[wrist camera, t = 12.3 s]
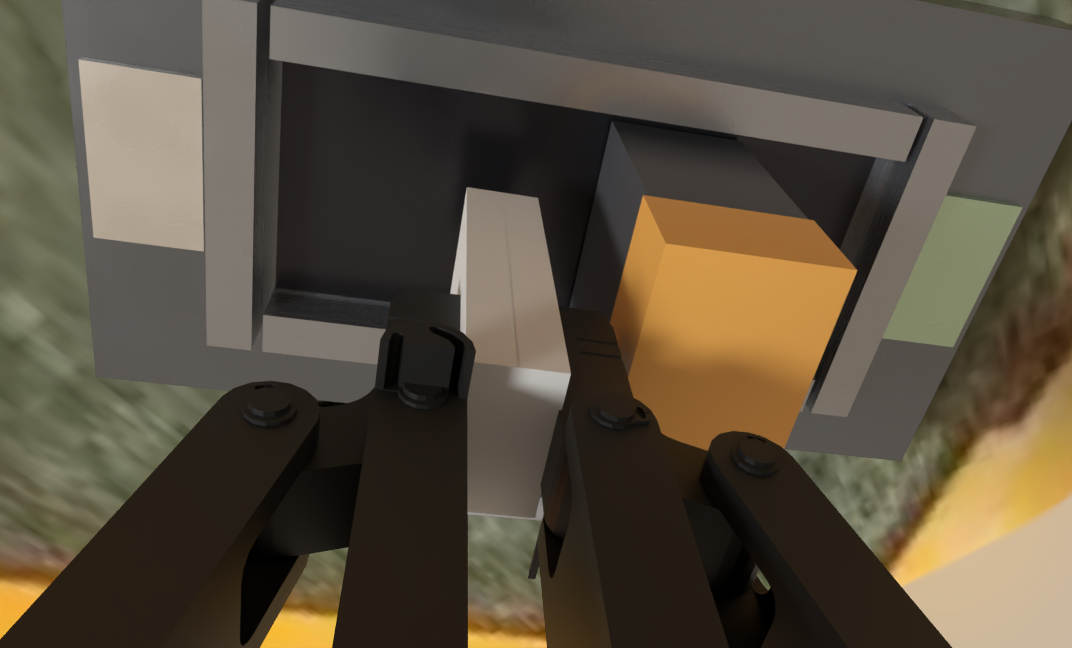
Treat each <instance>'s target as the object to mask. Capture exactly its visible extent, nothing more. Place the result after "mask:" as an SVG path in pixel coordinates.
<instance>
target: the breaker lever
mask: <svg viewBox="0 0 1072 648" xmlns="http://www.w3.org/2000/svg"><path fill="white" fill-rule="evenodd" d="M856 273H857V269H856V268H855V267H854V266H853V265H852V263H851V262H850V261H849V260H848V259H847V258H846V257H845V255H844V254H843V253H842V252H841V251H840V250H839V249H838V247H837V246H836V245H835V244H834V243H833V242H832V241H831V239H830V238H829V237H828V236H827V235H826V234H825V233H824V231H823V230H822V229H821V228H820V227H819V226H818V225H817V223H816V222H815V221H814V220H809V219H808V218H807V217H806V216H805V215H804V214H803V212H802V211H801V210H800V209H799V208H798V207H797V206H796V204H795V203H794V202H793V201H792V200H791V199H790V197H789V196H788V195H787V194H786V193H785V192H784V190H783V189H782V188H781V187H780V186H779V185H778V183H777V182H776V181H775V180H774V179H773V178H772V177H771V175H770V174H769V173H768V172H767V171H766V170H765V168H764V167H763V166H762V165H761V164H760V163H759V161H758V160H757V159H756V158H755V157H754V156H753V154H752V153H751V152H750V151H749V150H748V149H747V148H746V146H745V145H744V144H743V143H742V142H741V141H736V140H730V139H724V138H717V137H711V136H705V135H699V134H693V133H686V132H680V131H674V130H668V129H661V128H655V127H649V126H643V125H637V124H630V123H624V122H618V121H612V123H611V127H610V131H609V136H608V140H607V144H606V149H605V153H604V158H603V162H602V166H601V171H600V175H599V179H598V184H597V188H596V193H595V197H594V201H593V206H592V210H591V214H590V219H589V223H588V228H587V232H586V236H585V241H584V245H583V249H582V254H581V258H580V263H579V267H578V271H577V276H576V280H575V284H574V289H573V293H572V298H571V302H570V306H569V307H570V308H577V309H585V310H592V311H598V312H599V313H600V314H601V315H602V316H603V317H604V318H605V319H606V320H607V321H608V322H609V323H610V324H611V325H612V326H613V328H614V332H615V335H616V338H617V342H618V346H619V349H620V352H621V356H622V358H621V360H623V363H624V366H625V369H626V373H627V376H628V380H629V383H630V387H631V390H632V394H633V397H634V398H635V399H637V400H639V401H641V402H642V403H643V404H644V405H645V406H647V407H648V408H649V409H650V410H651V411H652V412H653V414H654V416H655V417H656V419H657V421H658V424H659V427H660V430H661V433H662V434H664V435H666V436H667V437H669V438H672V439H674V440H677V441H679V442H682V443H685V444H688V445H692V446H695V447H698V448H701V449H704V450H707V451H708V449H709V446H710V443H711V440H713V439H714V438H715V437H716V436H717V435H719V434H721V433H725V432H730V431H738V432H749V433H753V434H756V435H760V436H762V437H765V438H767V439H768V440H770V441H772V442H774V443H776V444H777V445H779V446H781V447H782V448H783V449H784V448H785V446H786V443H787V441H788V438H789V436H790V433H791V431H792V428H793V426H794V424H795V421H796V419H797V416H798V414H799V411H800V409H801V407H802V404H803V402H804V399H805V397H806V394H807V392H808V390H809V387H810V385H811V382H812V380H813V377H814V375H815V373H816V370H817V368H818V365H819V363H820V360H821V358H822V355H823V353H824V351H825V348H826V346H827V343H828V341H829V338H830V336H831V334H832V331H833V329H834V326H835V324H836V321H837V319H838V317H839V314H840V312H841V309H842V307H843V304H844V302H845V299H846V297H847V295H848V292H849V290H850V287H851V285H852V282H853V280H854V278H855V275H856Z"/></svg>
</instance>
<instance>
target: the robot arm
mask: <svg viewBox="0 0 1072 648" xmlns="http://www.w3.org/2000/svg"><path fill="white" fill-rule="evenodd" d="M621 358H622V356H621V352H620V349H619V346H618V342H617V338H616V335H615V332H614V328H613V326H612V325H611V324H610V323H609V322H608V321H607V320H606V319H605V318H604V317H603V316H602V315H601V314H600V313H599V312H598V311H592V310H585V309H577V308H570V307H562V306H558V302H557V297H556V291H555V286H554V281H553V275H552V270H551V265H550V259H549V254H548V249H547V243H546V238H545V233H544V227H543V222H542V217H541V211H540V206H539V201H538V198H535V197H528V196H522V195H515V194H509V193H502V192H496V191H489V190H483V189H476V188H469V187H467V189H466V196H465V202H464V209H463V215H462V221H461V228H460V234H459V240H458V247H457V253H456V260H455V266H454V272H453V279H452V285H451V292H450V294H449V293H441V292H434V291H426V290H419V289H411V288H404V289H403V290H402V291H401V292H400V293H398V294H397V295H396V296H395V297H394V298H393V299H392V300H391V302H390V308H389V314H388V320H387V326H386V330H385V332H384V334H383V335H382V337H381V339H380V346H379V354H378V363H377V372H376V381H375V387H374V388H373V389H372V390H371V391H370V392H369V393H368V394H367V395H365V396H364V397H362V398H360V399H359V400H356V401H353V402H350V403H347V404H342V405H336V406H329V407H319V405H318V402H317V399H316V398H315V397H314V396H312V395H311V394H310V393H309V392H308V391H307V390H305V389H303V388H300V387H298V386H295V385H293V384H290V383H284V382H277V381H261V382H251V383H248V384H245V385H242V386H239V387H235V388H233V389H232V390H231V391H229V392H228V393H226V394H225V395H224V396H222V397H221V398H220V399H219V400H218V401H217V402H216V404H215V405H214V406H213V407H212V408H211V409H210V410H209V411H208V412H207V413H206V414H205V416H204V417H203V418H202V419H201V420H200V421H199V422H198V423H197V424H196V425H195V427H194V428H193V429H192V430H191V431H190V432H189V433H188V434H187V435H186V436H185V437H184V439H183V440H182V441H181V442H180V443H179V444H178V445H177V446H176V447H175V448H174V450H173V451H172V452H171V453H170V454H169V455H168V456H167V457H166V458H165V459H164V461H163V462H162V463H161V464H160V465H159V466H158V467H157V468H156V469H155V470H154V471H153V473H152V474H151V475H150V476H149V477H148V478H147V479H146V480H145V481H144V482H143V484H142V485H141V486H140V487H139V488H138V489H137V490H136V491H135V492H134V493H133V495H132V496H131V497H130V498H129V499H128V500H127V501H126V502H125V503H124V504H123V505H122V507H121V508H120V509H119V510H118V511H117V512H116V513H115V514H114V515H113V516H112V518H111V519H110V520H109V521H108V522H107V523H106V524H105V525H104V526H103V527H102V529H101V530H100V531H99V532H98V533H97V534H96V535H95V536H94V537H93V538H92V539H91V541H90V542H89V543H88V544H87V545H86V546H85V547H84V548H83V549H82V550H81V552H80V553H79V554H78V555H77V556H76V557H75V558H74V559H73V560H72V561H71V562H70V564H69V565H68V566H67V567H66V568H65V569H64V570H63V571H62V572H61V573H60V575H59V576H58V577H57V578H56V579H55V580H54V581H53V582H52V583H51V584H50V586H49V587H48V588H47V589H46V590H45V591H44V592H43V593H42V594H41V595H40V596H39V598H38V599H37V600H36V601H35V602H34V603H33V604H32V605H31V606H30V607H29V609H28V610H27V611H26V612H25V613H24V614H23V615H22V616H21V617H20V618H19V620H18V621H17V622H16V623H15V624H14V625H13V626H12V627H11V628H10V629H9V630H8V632H7V633H6V634H5V635H4V636H3V637H2V638H1V639H0V648H260V646H261V644H262V643H263V641H264V639H265V637H266V636H267V634H268V632H269V630H270V628H271V627H272V625H273V623H274V621H275V620H276V618H277V616H278V614H279V613H280V611H281V609H282V607H283V606H284V604H285V602H286V600H287V598H288V597H289V595H290V593H291V591H292V590H293V588H294V586H295V584H296V583H297V581H298V579H299V577H300V575H301V574H302V572H303V570H304V568H305V567H306V564H307V560H308V557H309V554H310V553H316V552H322V551H328V550H334V549H340V548H346V547H349V548H348V554H347V560H346V566H345V573H344V579H343V585H342V591H341V597H340V603H339V609H338V615H337V621H336V628H335V634H334V640H333V646H332V648H468V512H475V513H486V514H497V515H507V516H518V517H529V518H535V516H536V512H537V508H538V504H539V500H540V496H541V494H542V503H543V512H544V515H543V518H542V522H541V526H540V530H539V534H538V538H537V542H536V546H535V550H534V554H533V558H532V562H531V566H530V570H529V576H528V578H530V579H535V578H536V574H537V570H538V567H540V577H541V588H542V598H543V609H544V620H545V631H546V641H547V648H952V647H951V646H950V645H949V643H948V642H947V641H946V640H945V639H944V637H943V636H942V635H941V634H940V633H939V631H938V630H937V629H936V628H935V627H934V625H933V624H932V623H931V622H930V621H929V620H928V618H927V617H926V616H925V615H924V613H923V612H922V611H921V610H920V609H919V607H918V606H917V605H916V604H915V603H914V602H913V600H912V599H911V598H910V597H909V596H908V594H907V593H906V592H905V591H904V590H903V588H902V587H901V586H900V585H899V584H898V582H897V581H896V580H895V579H894V578H893V576H892V575H891V574H890V573H889V572H888V570H887V569H886V568H885V567H884V566H883V564H882V563H881V562H880V561H879V560H878V558H877V557H876V556H875V555H874V554H873V552H872V551H871V550H870V549H869V548H868V546H867V545H866V544H865V543H864V542H863V541H862V539H861V538H860V537H859V536H858V535H857V533H856V532H855V531H854V530H853V529H852V527H851V526H850V525H849V524H848V523H847V521H846V520H845V519H844V518H843V517H842V515H841V514H840V513H839V512H838V511H837V509H836V508H835V507H834V506H833V505H832V503H831V502H830V501H829V500H828V499H827V497H826V496H825V495H824V494H823V493H822V491H821V490H820V489H819V488H818V487H817V486H816V484H815V483H814V482H813V481H812V480H811V478H810V477H809V476H808V475H807V474H806V472H805V471H804V470H803V469H802V468H801V466H800V465H799V464H798V463H797V462H796V460H795V459H794V458H793V457H792V456H791V455H790V454H789V453H788V452H786V451H785V450H784V449H783V448H782V447H781V446H779V445H777V444H776V443H774V442H772V441H770V440H768V439H767V438H765V437H762V436H760V435H756V434H753V433H749V432H738V431H730V432H725V433H721V434H719V435H717V436H716V437H715V438H714V439H713V440H711V443H710V446H709V449H708V451H707V450H704V449H701V448H698V447H695V446H692V445H688V444H685V443H682V442H679V441H677V440H674V439H672V438H669V437H667V436H666V435H664V434H662V433H661V430H660V427H659V424H658V421H657V419H656V417H655V416H654V414H653V412H652V411H651V410H650V409H649V408H648V407H647V406H645V405H644V404H643V403H642V402H641V401H639V400H637V399H635V398H634V397H633V394H632V390H631V387H630V383H629V380H628V376H627V373H626V369H625V366H624V363H623V360H621ZM759 569H760V571H761V572H762V574H763V575H764V576H765V578H766V579H767V581H768V583H769V585H770V587H771V588H770V589H769V591H768V590H767V589H766V588H765V587H764V586H763V584H762V583H761V581H760V580H759V578H758V577H757V574H758V572H759Z"/></svg>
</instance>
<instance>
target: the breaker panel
mask: <svg viewBox="0 0 1072 648" xmlns="http://www.w3.org/2000/svg"><path fill="white" fill-rule="evenodd" d="M62 9H63V20H64V31H65V42H66V53H67V64H68V75H69V86H70V97H71V108H72V119H73V129H74V140H75V151H76V162H77V173H78V184H79V195H80V206H81V217H82V228H83V239H84V250H85V261H86V272H87V283H88V293H89V304H90V315H91V326H92V337H93V348H94V359H95V370H96V377H103V378H112V379H122V380H131V381H141V382H151V383H160V384H170V385H179V386H189V387H198V388H208V389H217V390H227V391H231V390H232V389H233V388H235V387H239V386H242V385H245V384H248V383H251V382H261V381H277V382H284V383H290V384H293V385H295V386H298V387H300V388H303V389H305V390H307V391H308V392H309V393H310V394H311V395H312V396H314V397H315V398H316V399H317V400H323V401H332V402H342V403H350V402H353V401H356V400H359V399H360V398H362V397H364V396H365V395H367V394H368V393H369V392H370V391H371V390H372V389H373V388H374V387H375V381H376V372H377V363H378V354H379V346H380V339H381V337H382V335H383V334H384V332H385V330H386V326H387V320H388V314H389V308H390V302H391V300H392V299H393V298H394V297H395V296H396V295H397V294H398V293H400V292H401V291H402V290H403V289H404V288H411V289H419V290H426V291H434V292H441V293H449V294H450V292H451V285H452V279H453V272H454V266H455V260H456V253H457V247H458V240H459V234H460V228H461V221H462V215H463V209H464V202H465V196H466V189H467V187H469V188H476V189H483V190H489V191H496V192H502V193H509V194H515V195H522V196H528V197H535V198H538V201H539V206H540V211H541V217H542V222H543V227H544V233H545V238H546V243H547V249H548V254H549V259H550V265H551V270H552V275H553V281H554V286H555V291H556V297H557V302H558V306H562V307H569V306H570V302H571V298H572V293H573V289H574V284H575V280H576V276H577V271H578V267H579V263H580V258H581V254H582V249H583V245H584V241H585V236H586V232H587V228H588V223H589V219H590V214H591V210H592V206H593V201H594V197H595V193H596V188H597V184H598V179H599V175H600V171H601V166H602V162H603V158H604V153H605V149H606V144H607V140H608V136H609V131H610V127H611V123H612V121H618V122H624V123H630V124H637V125H643V126H649V127H655V128H661V129H668V130H674V131H680V132H686V133H693V134H699V135H705V136H711V137H717V138H724V139H730V140H736V141H741V142H742V143H743V144H744V145H745V146H746V148H747V149H748V150H749V151H750V152H751V153H752V154H753V156H754V157H755V158H756V159H757V160H758V161H759V163H760V164H761V165H762V166H763V167H764V168H765V170H766V171H767V172H768V173H769V174H770V175H771V177H772V178H773V179H774V180H775V181H776V182H777V183H778V185H779V186H780V187H781V188H782V189H783V190H784V192H785V193H786V194H787V195H788V196H789V197H790V199H791V200H792V201H793V202H794V203H795V204H796V206H797V207H798V208H799V209H800V210H801V211H802V212H803V214H804V215H805V216H806V217H807V218H808V219H809V220H814V221H815V222H816V223H817V225H818V226H819V227H820V228H821V229H822V230H823V231H824V233H825V234H826V235H827V236H828V237H829V238H830V239H831V241H832V242H833V243H834V244H835V245H836V246H837V247H838V249H839V250H840V251H841V252H842V253H843V254H844V255H845V257H846V258H847V259H848V260H849V261H850V262H851V263H852V265H853V266H854V267H855V268H856V269H857V273H856V275H855V278H854V280H853V282H852V285H851V287H850V290H849V292H848V295H847V297H846V299H845V302H844V304H843V307H842V309H841V312H840V314H839V317H838V319H837V321H836V324H835V326H834V329H833V331H832V334H831V336H830V338H829V341H828V343H827V346H826V348H825V351H824V353H823V355H822V358H821V360H820V363H819V365H818V368H817V370H816V373H815V375H814V377H813V380H812V382H811V385H810V387H809V390H808V392H807V394H806V397H805V399H804V402H803V404H802V407H801V409H800V411H799V414H798V416H797V419H796V421H795V424H794V426H793V428H792V431H791V433H790V436H789V438H788V441H787V443H786V446H785V448H784V449H791V450H800V451H810V452H819V453H829V454H838V455H848V456H858V457H867V458H877V459H886V460H896V461H901V460H902V458H903V456H904V454H905V452H906V450H907V448H908V446H909V444H910V442H911V440H912V438H913V436H914V434H915V432H916V430H917V428H918V426H919V424H920V422H921V421H922V419H923V417H924V415H925V413H926V411H927V409H928V407H929V405H930V403H931V401H932V399H933V397H934V395H935V393H936V391H937V389H938V387H939V385H940V383H941V381H942V379H943V377H944V375H945V373H946V371H947V369H948V367H949V365H950V363H951V361H952V359H953V357H954V355H955V353H956V351H957V349H958V347H959V345H960V343H961V341H962V339H963V337H964V335H965V333H966V331H967V329H968V327H969V325H970V323H971V321H972V319H973V317H974V315H975V313H976V311H977V309H978V307H979V305H980V303H981V301H982V299H983V297H984V295H985V293H986V291H987V289H988V287H989V285H990V283H991V281H992V279H993V277H994V275H995V273H996V271H997V269H998V267H999V265H1000V263H1001V261H1002V259H1003V257H1004V255H1005V253H1006V251H1007V249H1008V247H1009V245H1010V243H1011V241H1012V239H1013V237H1014V235H1015V233H1016V231H1017V229H1018V227H1019V225H1020V223H1021V221H1022V219H1023V217H1024V215H1025V213H1026V211H1027V209H1028V207H1029V205H1030V203H1031V201H1032V199H1033V197H1034V195H1035V193H1036V191H1037V189H1038V187H1039V185H1040V183H1041V181H1042V179H1043V177H1044V175H1045V173H1046V171H1047V169H1048V167H1049V165H1050V163H1051V161H1052V159H1053V157H1054V155H1055V153H1056V151H1057V149H1058V147H1059V145H1060V143H1061V141H1062V139H1063V137H1064V135H1065V133H1066V131H1067V129H1068V127H1069V125H1070V123H1071V121H1072V25H1071V24H1068V23H1065V22H1062V21H1059V20H1056V19H1053V18H1050V17H1045V16H1040V15H1035V14H1030V13H1024V12H1019V11H1014V10H1009V9H1004V8H999V7H994V6H989V5H983V4H978V3H973V2H968V1H963V0H62Z"/></svg>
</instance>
